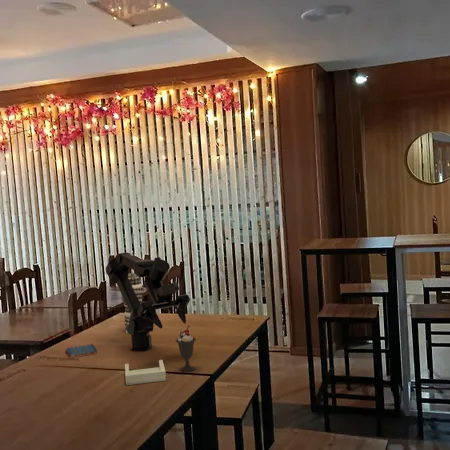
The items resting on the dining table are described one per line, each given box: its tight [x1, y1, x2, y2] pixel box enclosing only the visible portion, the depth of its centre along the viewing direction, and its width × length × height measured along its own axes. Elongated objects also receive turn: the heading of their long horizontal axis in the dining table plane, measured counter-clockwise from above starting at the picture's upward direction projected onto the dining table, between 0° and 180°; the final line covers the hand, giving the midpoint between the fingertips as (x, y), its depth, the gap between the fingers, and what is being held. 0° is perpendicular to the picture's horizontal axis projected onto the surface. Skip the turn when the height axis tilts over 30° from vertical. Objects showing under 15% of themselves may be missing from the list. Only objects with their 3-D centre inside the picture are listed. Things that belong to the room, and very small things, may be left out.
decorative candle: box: [122, 272, 145, 335], centre depth 243 cm, size 9×9×25 cm
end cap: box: [124, 359, 167, 386], centre depth 184 cm, size 12×12×3 cm
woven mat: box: [65, 343, 98, 359], centre depth 216 cm, size 10×11×2 cm
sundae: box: [175, 325, 197, 373], centre depth 189 cm, size 7×7×15 cm
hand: (173, 325), depth 195 cm, fingers open, 9 cm apart
